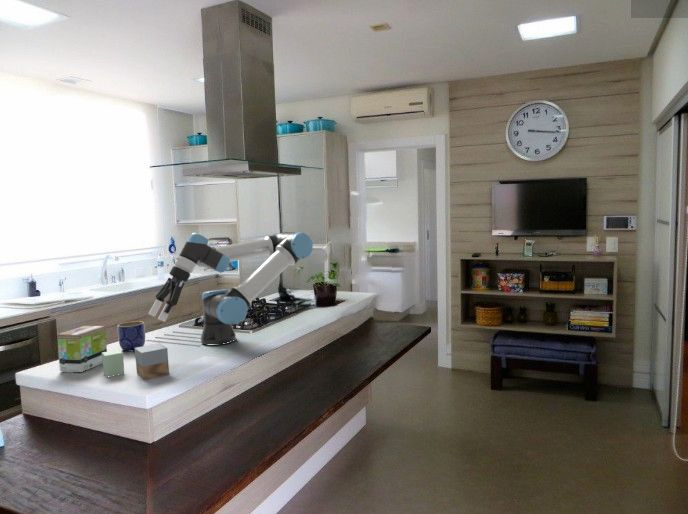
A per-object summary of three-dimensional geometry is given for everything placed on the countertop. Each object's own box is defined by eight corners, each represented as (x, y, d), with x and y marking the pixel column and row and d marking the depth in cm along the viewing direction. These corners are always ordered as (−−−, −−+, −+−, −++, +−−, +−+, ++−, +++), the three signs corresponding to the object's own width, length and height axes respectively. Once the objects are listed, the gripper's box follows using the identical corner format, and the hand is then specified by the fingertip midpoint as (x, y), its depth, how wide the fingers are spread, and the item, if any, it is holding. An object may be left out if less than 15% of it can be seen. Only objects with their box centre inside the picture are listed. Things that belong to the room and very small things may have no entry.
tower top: (160, 356, 192) (159, 343, 192) (168, 361, 185) (167, 347, 185) (135, 361, 187) (134, 347, 187) (142, 366, 180) (141, 352, 179)
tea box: (82, 373, 192) (79, 334, 190) (59, 372, 194) (55, 334, 192) (108, 361, 206) (105, 324, 205) (86, 360, 208) (83, 324, 207)
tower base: (162, 369, 193) (161, 356, 192) (169, 375, 186) (168, 361, 185) (137, 374, 188) (135, 361, 187) (143, 380, 180) (142, 366, 180)
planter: (150, 348, 224) (148, 322, 223) (126, 354, 216) (123, 327, 215) (139, 344, 231) (137, 319, 230) (115, 350, 223) (112, 324, 222)
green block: (120, 370, 193) (119, 349, 193) (124, 373, 189) (122, 352, 188) (103, 373, 190) (101, 352, 189) (106, 377, 185) (104, 355, 184)
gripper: (164, 263, 214) (139, 309, 209) (184, 267, 193) (156, 318, 188) (180, 271, 218) (156, 317, 213) (201, 276, 197) (174, 326, 192)
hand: (156, 318), depth 200 cm, fingers open, 13 cm apart
